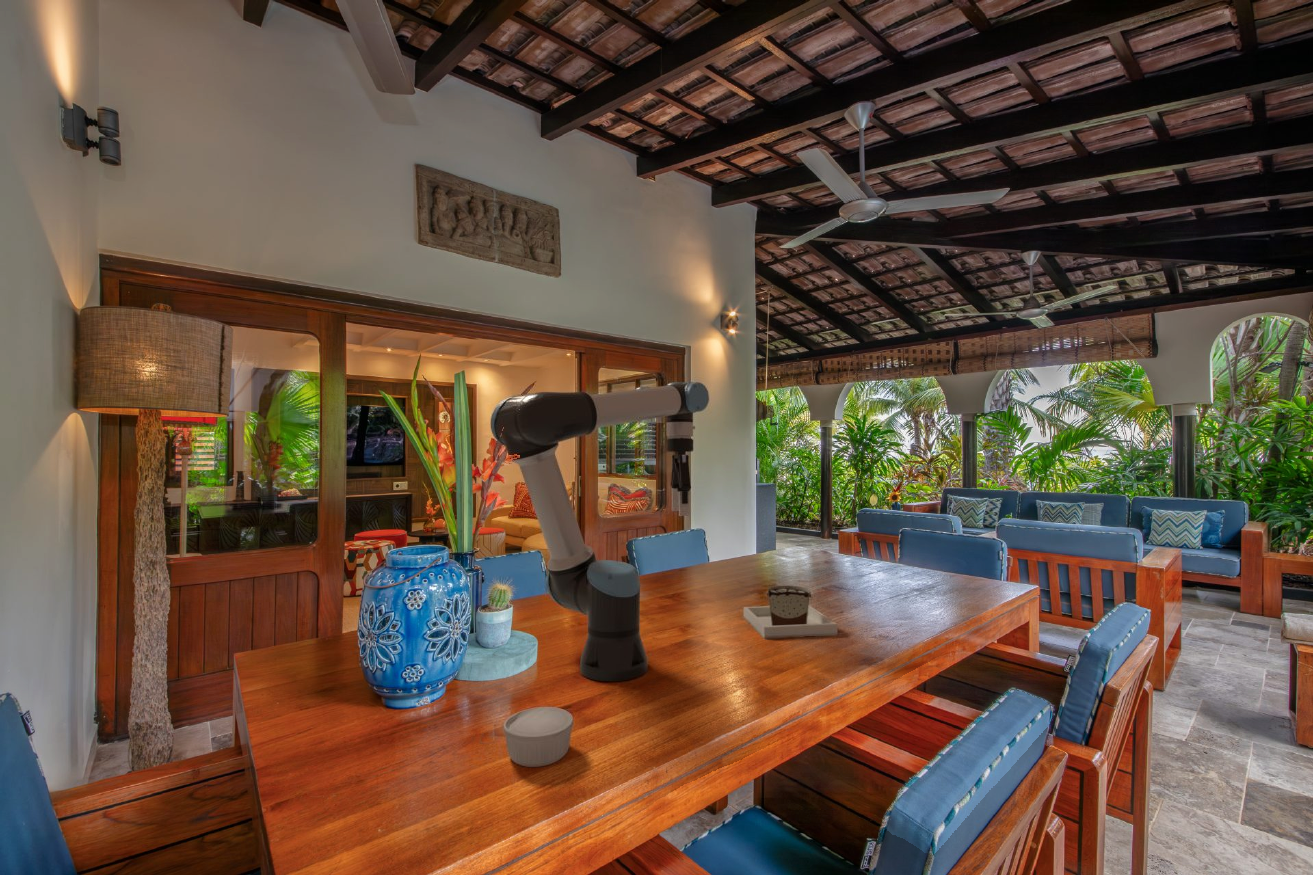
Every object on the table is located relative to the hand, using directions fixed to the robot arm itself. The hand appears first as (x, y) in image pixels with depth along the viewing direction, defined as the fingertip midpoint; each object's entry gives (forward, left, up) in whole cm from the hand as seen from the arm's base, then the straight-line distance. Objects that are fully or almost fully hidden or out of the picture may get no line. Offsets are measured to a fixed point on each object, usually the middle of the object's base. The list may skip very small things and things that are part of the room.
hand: (680, 513), depth 165 cm
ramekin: (-65, +34, -32) cm, 80 cm away
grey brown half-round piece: (-4, -30, -31) cm, 43 cm away
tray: (-4, -30, -32) cm, 44 cm away
